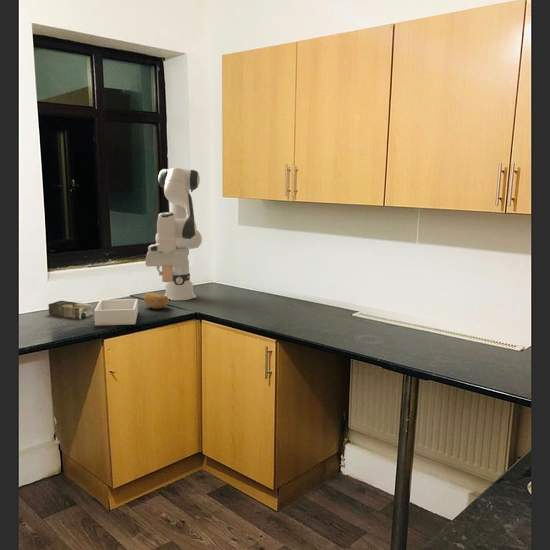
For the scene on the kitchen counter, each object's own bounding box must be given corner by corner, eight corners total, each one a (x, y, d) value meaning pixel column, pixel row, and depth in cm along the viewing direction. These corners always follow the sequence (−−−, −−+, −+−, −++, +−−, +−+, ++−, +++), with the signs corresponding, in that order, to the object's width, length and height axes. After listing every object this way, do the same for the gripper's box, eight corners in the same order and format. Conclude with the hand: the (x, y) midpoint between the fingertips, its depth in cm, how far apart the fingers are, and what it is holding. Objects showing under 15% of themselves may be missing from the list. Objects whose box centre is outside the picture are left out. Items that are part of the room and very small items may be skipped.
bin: (100, 313, 275) (100, 299, 273) (138, 312, 278) (137, 299, 277) (94, 325, 253) (94, 310, 252) (135, 324, 257) (134, 309, 255)
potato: (161, 312, 280) (161, 296, 279) (139, 308, 286) (139, 293, 285) (173, 308, 289) (173, 293, 287) (151, 304, 295) (151, 290, 293)
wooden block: (162, 280, 269) (162, 264, 267) (172, 280, 270) (172, 263, 268) (162, 282, 264) (161, 265, 262) (172, 282, 265) (172, 265, 263)
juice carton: (95, 315, 273) (94, 303, 271) (81, 320, 263) (80, 307, 262) (62, 311, 279) (61, 299, 278) (48, 316, 270) (47, 304, 269)
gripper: (188, 245, 269) (189, 273, 271) (145, 246, 265) (146, 274, 268) (189, 247, 263) (189, 276, 265) (144, 247, 259) (145, 276, 261)
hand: (167, 275), depth 266 cm, fingers closed on wooden block, 5 cm apart
